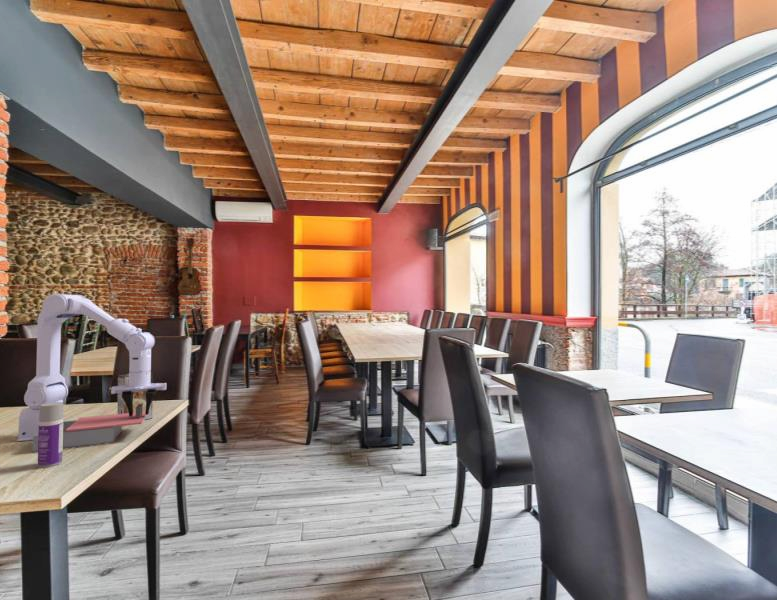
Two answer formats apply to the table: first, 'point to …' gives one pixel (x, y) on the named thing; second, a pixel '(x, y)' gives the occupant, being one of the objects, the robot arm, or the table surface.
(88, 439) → the carton
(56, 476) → the table surface
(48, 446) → the container
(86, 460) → the table surface
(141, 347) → the robot arm
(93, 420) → the lid
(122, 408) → the coffee box
